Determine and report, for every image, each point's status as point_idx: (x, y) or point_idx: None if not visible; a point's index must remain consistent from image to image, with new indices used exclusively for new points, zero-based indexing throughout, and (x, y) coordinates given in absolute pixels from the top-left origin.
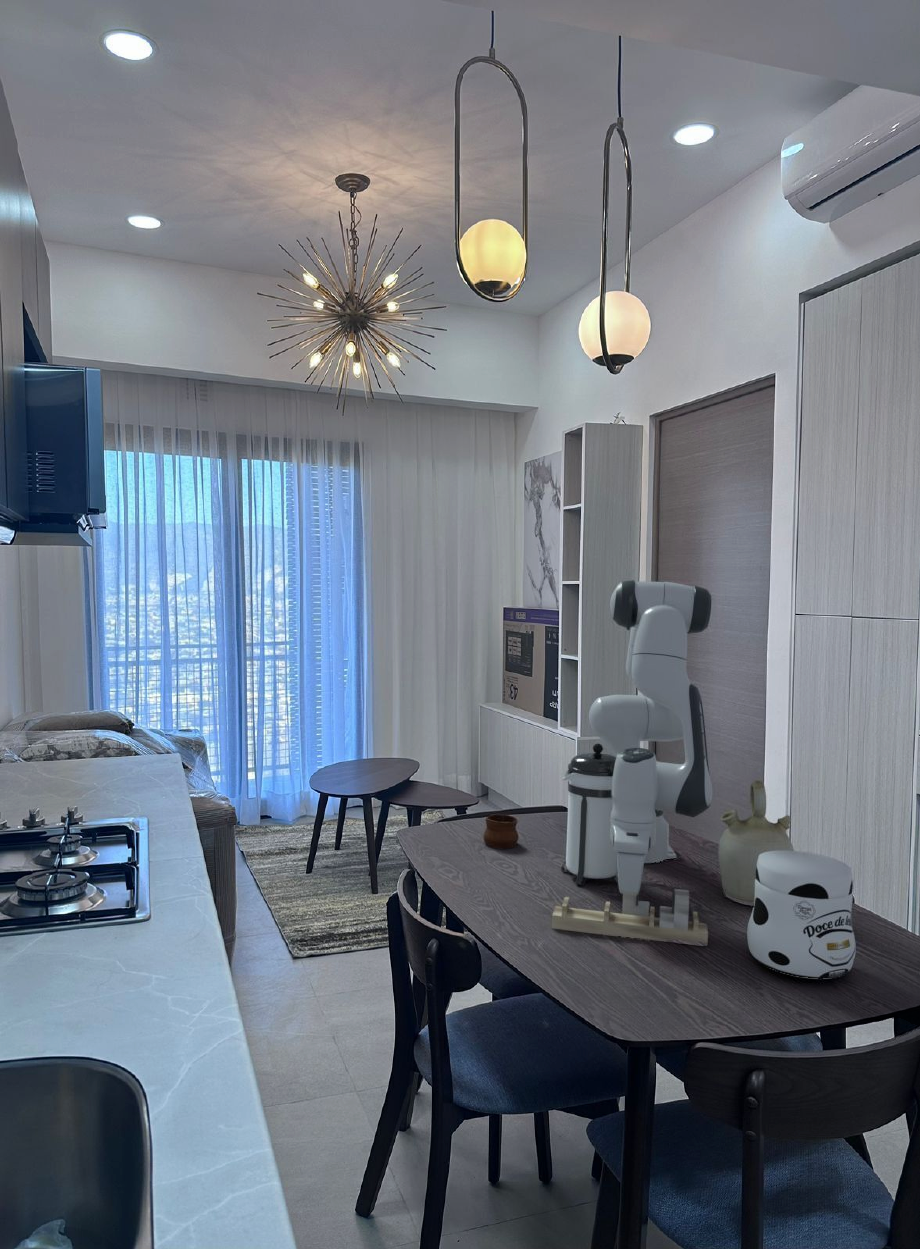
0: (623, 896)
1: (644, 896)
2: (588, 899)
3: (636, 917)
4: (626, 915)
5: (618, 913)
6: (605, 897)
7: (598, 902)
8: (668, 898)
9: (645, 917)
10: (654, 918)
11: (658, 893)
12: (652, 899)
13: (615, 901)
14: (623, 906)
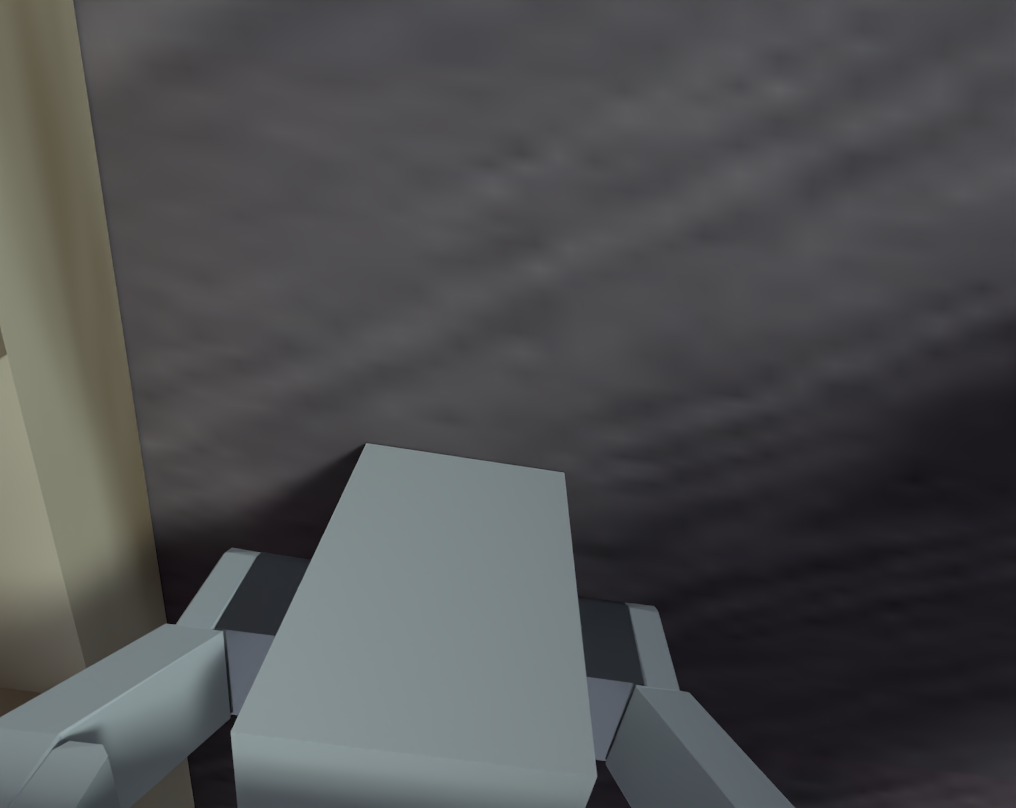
0: (290, 615)
1: (953, 671)
2: (965, 123)
3: (11, 603)
4: (17, 524)
5: (34, 451)
6: (997, 350)
7: (836, 251)
8: (880, 790)
9: (62, 669)
10: None
11: (1003, 757)
12: (871, 708)
13: (852, 438)
14: (330, 526)
